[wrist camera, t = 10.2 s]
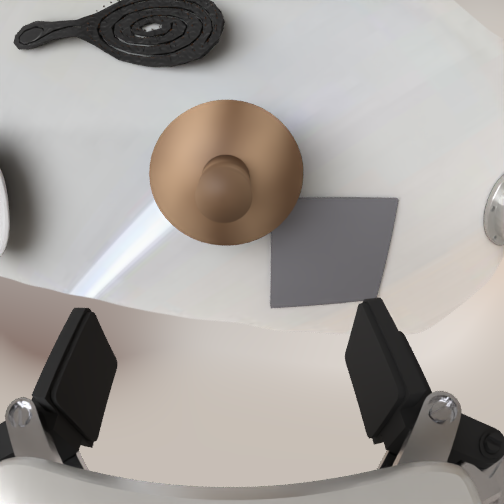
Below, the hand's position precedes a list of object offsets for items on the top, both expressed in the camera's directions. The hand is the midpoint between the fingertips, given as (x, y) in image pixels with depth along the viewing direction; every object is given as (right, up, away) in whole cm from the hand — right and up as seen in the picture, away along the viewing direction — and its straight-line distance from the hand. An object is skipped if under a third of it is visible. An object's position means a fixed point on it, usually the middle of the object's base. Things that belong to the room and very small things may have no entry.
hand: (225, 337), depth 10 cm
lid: (-1, +10, +16) cm, 18 cm away
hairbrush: (-14, +26, +12) cm, 31 cm away
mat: (+11, +3, +26) cm, 29 cm away
